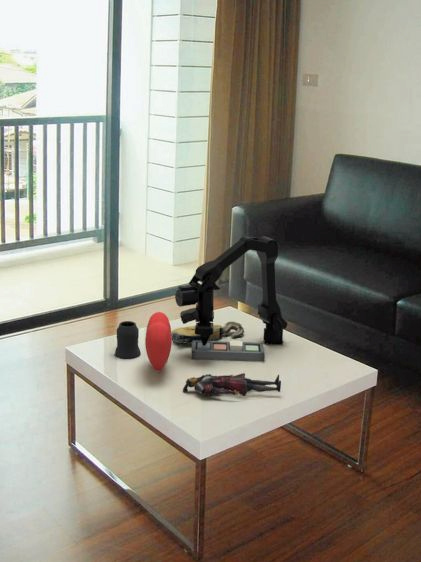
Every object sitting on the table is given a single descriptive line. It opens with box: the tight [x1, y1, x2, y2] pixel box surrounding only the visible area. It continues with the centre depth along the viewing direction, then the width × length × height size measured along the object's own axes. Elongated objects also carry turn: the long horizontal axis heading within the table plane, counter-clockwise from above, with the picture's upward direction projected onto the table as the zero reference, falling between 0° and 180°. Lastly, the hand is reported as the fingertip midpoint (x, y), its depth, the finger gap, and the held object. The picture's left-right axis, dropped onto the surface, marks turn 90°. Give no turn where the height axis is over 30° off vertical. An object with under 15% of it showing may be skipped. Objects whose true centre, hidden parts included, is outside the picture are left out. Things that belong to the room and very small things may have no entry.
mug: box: [114, 320, 142, 360], centre depth 257 cm, size 12×9×11 cm
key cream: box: [229, 340, 243, 351], centre depth 258 cm, size 4×4×2 cm
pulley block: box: [171, 321, 245, 346], centre depth 273 cm, size 14×6×30 cm
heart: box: [144, 311, 173, 373], centre depth 241 cm, size 20×9×19 cm, turn 3°
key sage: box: [245, 345, 259, 352], centre depth 258 cm, size 4×4×2 cm
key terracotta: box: [213, 344, 226, 351], centre depth 259 cm, size 4×4×2 cm
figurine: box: [182, 372, 282, 397], centre depth 230 cm, size 13×6×30 cm
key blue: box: [197, 342, 210, 350], centre depth 258 cm, size 4×4×2 cm
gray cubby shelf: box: [190, 340, 266, 363], centre depth 259 cm, size 25×10×3 cm, turn 89°
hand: (204, 345), depth 258 cm, fingers closed, pressing on key blue
